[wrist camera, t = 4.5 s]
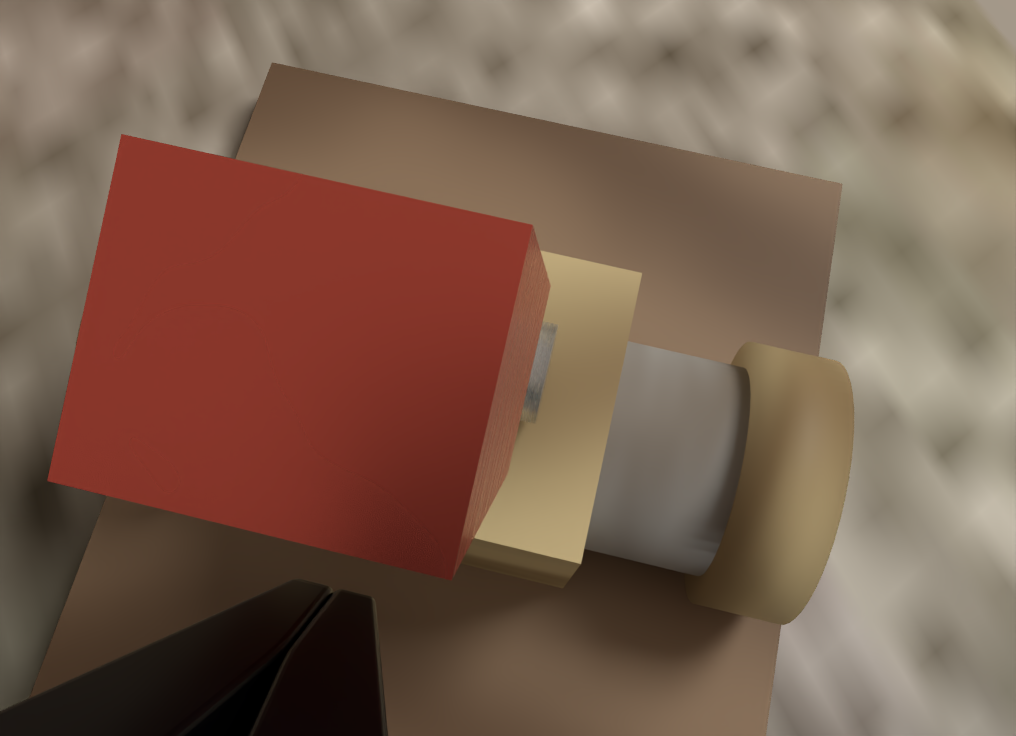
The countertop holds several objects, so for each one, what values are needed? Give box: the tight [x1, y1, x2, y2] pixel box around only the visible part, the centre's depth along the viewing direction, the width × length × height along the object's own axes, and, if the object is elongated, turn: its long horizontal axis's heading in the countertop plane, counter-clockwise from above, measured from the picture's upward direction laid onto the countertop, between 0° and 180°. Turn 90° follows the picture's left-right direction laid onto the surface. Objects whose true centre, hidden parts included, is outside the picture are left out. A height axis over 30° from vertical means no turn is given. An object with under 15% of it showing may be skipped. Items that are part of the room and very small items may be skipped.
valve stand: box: [29, 63, 854, 736], centre depth 18 cm, size 16×14×6 cm
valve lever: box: [47, 134, 558, 581], centre depth 11 cm, size 2×3×10 cm
